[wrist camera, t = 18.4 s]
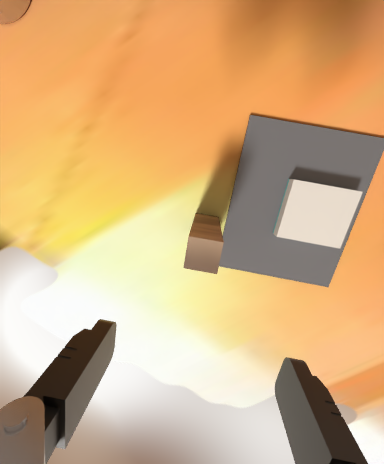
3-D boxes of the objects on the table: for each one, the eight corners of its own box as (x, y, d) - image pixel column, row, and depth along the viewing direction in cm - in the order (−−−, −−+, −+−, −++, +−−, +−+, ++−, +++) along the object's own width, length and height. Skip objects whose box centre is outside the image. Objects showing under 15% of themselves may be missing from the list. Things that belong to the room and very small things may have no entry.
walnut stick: (195, 213, 33) (188, 236, 21) (218, 217, 33) (223, 242, 21) (192, 234, 34) (183, 267, 22) (214, 238, 34) (217, 273, 22)
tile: (293, 179, 28) (362, 191, 28) (288, 178, 30) (352, 190, 30) (276, 236, 30) (340, 248, 30) (272, 232, 32) (332, 243, 32)
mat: (249, 115, 29) (250, 114, 28) (385, 139, 28) (388, 139, 28) (216, 264, 35) (216, 265, 34) (326, 285, 34) (328, 287, 34)
